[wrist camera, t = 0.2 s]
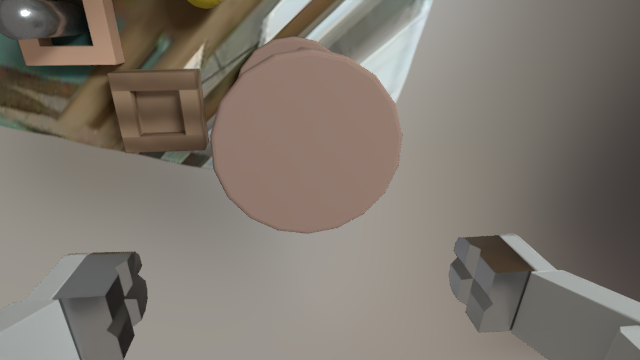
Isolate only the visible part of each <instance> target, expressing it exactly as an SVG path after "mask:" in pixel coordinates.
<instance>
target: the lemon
mask: <svg viewBox="0 0 640 360" xmlns="http://www.w3.org/2000/svg"><path fill="white" fill-rule="evenodd" d="M188 1H189V2H190V3H191V4H193V5H194V6H196V7H199V8H204V9H208V8H213V7H215V6H217V5H218V4H219V3H220V2H221V1H222V0H188Z"/></svg>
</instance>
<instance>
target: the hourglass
mask: <svg viewBox="0 0 640 360" xmlns="http://www.w3.org/2000/svg"><path fill="white" fill-rule="evenodd" d="M210 138H211V148H212V158H213V168H214V171H215V173H216V175H217V176H218V178H219V181H220V183H221V185H222V187H223V189H224V191H225V192H226V194H227V196H228V198H229V199H230V200H232V201H233V202H234V203H235V204H236V205H237V206H238V207H239V208H240V209H241V210H242V211H243V212H244V213H246V214H247V215H248V216H249V217H250V218H252V219H254V220H256V221H258V222H261V223H263V224H265V225H267V226H269V227H272V228H274V229H276V230H280V231H289V232H299V233H313V232H318V231H323V230H329V229H334V228H338V227H340V226H342V225H343V224H345V223H347V222H349V221H351V220H353V219H355V218H357V217H358V216H360V215H363V214H364V213H365V212H366V211H367V210H368V209H369V208H370V207H371V206H372V205H373V204H374V203H375V202H376V201H377V200H378V199H379V198H380V197H381V196H382V195H383V194H384V193H385V191H386V189H387V188H388V186H389V183H390V181H391V180H392V177H393V175H394V174H395V172H396V170H397V168H398V166H399V158H400V151H401V143H402V131H401V126H400V122H399V118H398V114H397V109H396V105H395V103H394V101H393V100H392V98H391V97H390V95H389V94H388V93H387V91H386V90H385V88H384V87H383V85H382V84H381V82H380V81H379V80H378V78H377V77H376V75H374V74H373V73H371V72H370V71H368V70H366V69H365V68H363V67H362V66H360V65H359V64H357V63H356V62H354V61H353V60H351V59H350V58H348V57H347V56H345V55H341V54H337V53H333V52H331V51H330V50H328V49H327V48H325V47H324V46H322V45H321V44H319V43H317V42H316V41H313V40H308V39H304V38H299V37H294V36H293V37H287V38H281V39H275V40H272V41H270V42H268V43H267V44H265V45H263V46H262V47H260V48H258V49H257V50H255V51H254V52H253V53H252V54H251V56H250V57H249V58H248V60H247V61H246V62H245V63H244V65H243V66H242V67H241V69H240V72H239V76H238V79H237V80H236V82H235V83H234V84H233V85H232V87H231V88H230V89H229V91H228V92H227V93H226V94H225V96H224V97H223V98H222V100H221V101H220V103H219V107H218V110H217V114H216V117H215V121H214V124H213V128H212V131H211V135H210Z"/></svg>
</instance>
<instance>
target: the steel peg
mask: <svg viewBox="0 0 640 360" xmlns="http://www.w3.org/2000/svg"><path fill="white" fill-rule="evenodd" d="M87 28H88V21H87V17H86V13H85V12H84V10H83V9H82V8H81V7H79V6H78V5H76V4H74V3H70V2H60V1H49V0H0V33H1V34H3V35H4V36H6V37H8V38H11V39H14V40H25V39H37V38H50V37H62V36H75V35H81V34H83V33H84V32H85V31H86V30H87Z"/></svg>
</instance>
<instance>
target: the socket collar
mask: <svg viewBox="0 0 640 360" xmlns="http://www.w3.org/2000/svg"><path fill="white" fill-rule="evenodd" d="M82 1H83V5H84V9H85V13H86V17H87V21H88V26H89V30H90V34H91V38H92V42H93V45H53V43H52V40H51V37H50V38H37V39H25V40H18V41H19V44H20V48H21V51H22V54H23V57H24V60H25V63H26V66H43V65H117V64H120V63H124V62H125V60H124V56H123V51H122V46H121V42H120V37H119V32H118V27H117V23H116V18H115V13H114V9H113V4H112V0H82Z"/></svg>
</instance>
